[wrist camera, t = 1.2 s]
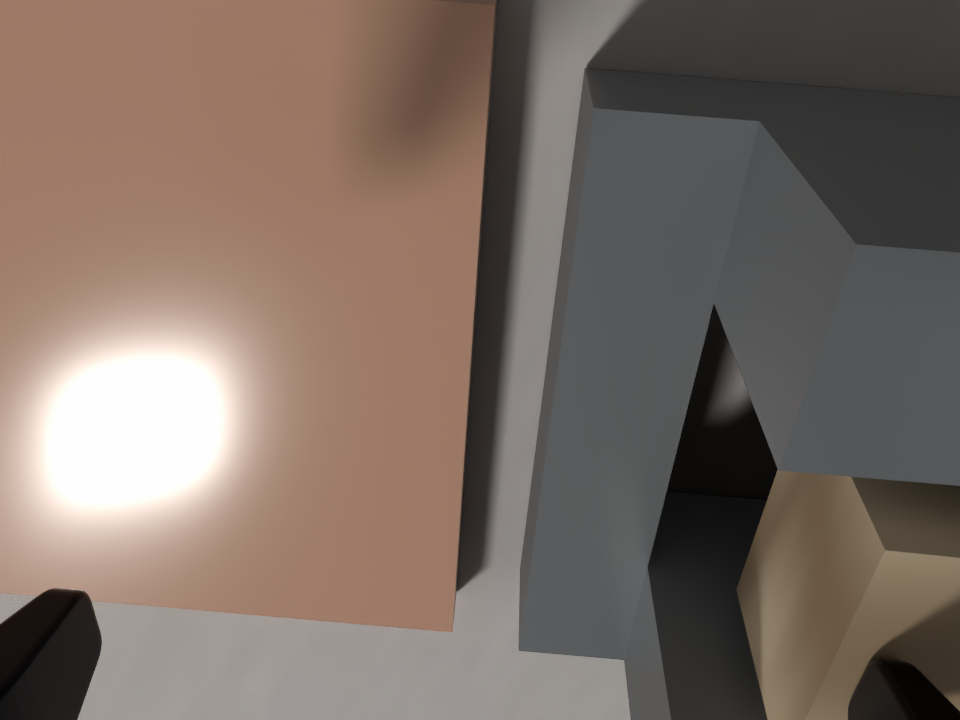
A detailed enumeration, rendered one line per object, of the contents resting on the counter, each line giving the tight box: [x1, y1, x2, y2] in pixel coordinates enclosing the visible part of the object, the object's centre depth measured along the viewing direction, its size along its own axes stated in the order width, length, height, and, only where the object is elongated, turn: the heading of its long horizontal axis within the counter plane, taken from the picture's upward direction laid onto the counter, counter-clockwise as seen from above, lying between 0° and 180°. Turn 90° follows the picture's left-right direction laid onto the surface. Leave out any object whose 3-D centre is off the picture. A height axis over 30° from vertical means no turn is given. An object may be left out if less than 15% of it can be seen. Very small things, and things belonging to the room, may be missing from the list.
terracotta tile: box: [0, 0, 497, 632], centre depth 14 cm, size 12×15×1 cm
